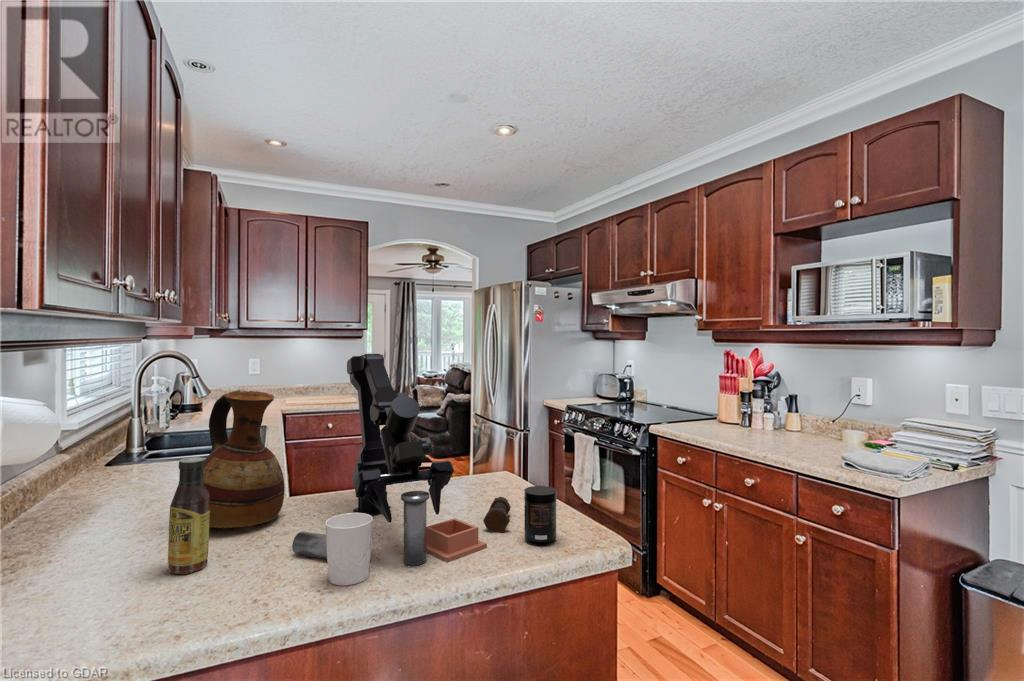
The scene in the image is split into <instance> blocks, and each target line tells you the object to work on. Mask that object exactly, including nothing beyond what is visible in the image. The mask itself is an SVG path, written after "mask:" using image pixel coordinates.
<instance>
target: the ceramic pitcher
mask: <svg viewBox="0 0 1024 681" xmlns="http://www.w3.org/2000/svg"><path fill="white" fill-rule="evenodd" d="M274 400H275V396H274V395H273V394H270V393H267V392H264V391H253V390H248V391H247V390H242V391H241V390H234V391H230V392H227V393H224V394H222V395H221V396H220V397H219V398H217V400H216V401H215V402H214V404H213V406H212V409H211V413H210V415H209V420H208V431H209V438H210V441H211V442H210V443H211V453H209V455H208V456H206V458H204V459H205V466H204V468H203V479H204V481H203V483H204V486H205V488H206V489H207V490H208V492H209V494H210V502H209V508H210V519H209V528H219V529H234V528H246V527H251V526H252V527H253V526H256V525H259V524H263V523H264V524H265V523H267V522H270V521H271V520H273V519H274V518H275V517H277V515H279V514H280V512H281V510H282V508H283V504H284V498H285V479H284V473H283V469H282V467H281V464H280V462H279V459H278V458H277V456H276V455H275V454H274V453H273V452H272V451H271V450H270V449H269V448H267V447H266V446H265V445H264V444H263V442H262V437H261V428H262V424H263V419H264V418H263V417H264V414H265V411H266V409H267V408H268V406H269V405H271V403H272V402H274ZM231 409H232V416H233V419H232V420H233V423H232V429H231V431H230V435H229V436H228V433H227V424H228V423H227V421H228V416H229V413H230V410H231Z"/></svg>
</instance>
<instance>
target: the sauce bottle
mask: <svg viewBox="0 0 1024 681" xmlns="http://www.w3.org/2000/svg"><path fill="white" fill-rule="evenodd" d="M205 459H206V458H204V457H199V456H195V457H185V458H181V459H180V460H178V470H179V476H178V477H179V478H178V484H177V487H176V490H175V492H174V495H173V497H172V499H171V502H170V506H169V515H168V516H169V521H168V549H167V563H168V564H167V565H168V567H167V568H168V571H169V572H170V574H174V575H175V574H176V575H186V574H187V575H188V574H191V573H194V572H197V571H199V570H202V569H203V568H204V567H206V565H207V564H208V557H209V543H210V542H209V541H210V540H209V539H210V527H209V519H210V508H209V502H210V494H209V492H208V490H207V489H206V488H205V486H204V483H203V481H204V479H203V468H204V466H205Z"/></svg>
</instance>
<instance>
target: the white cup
mask: <svg viewBox="0 0 1024 681" xmlns="http://www.w3.org/2000/svg"><path fill="white" fill-rule="evenodd" d="M373 519H374V518H373V516H371V515H369V514H365V513H357V512H346V513H341V514H337V515H336V514H335V515H334V516H331V517H329V518H328V519H326V521H325V535H326V549H327V559H326V561H327V568H328V569H327V570H328V572H327V575H328V581H329V582H330V583H331V584H333V585H335V586H352V585H357V584H359V583H361V582H363V581H365V580H366V579H368V577H369V574H370V562H371V561H370V560H371V555H372V554H371V553H372V538H373V536H372V535H373V521H374V520H373Z"/></svg>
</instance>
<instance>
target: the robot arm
mask: <svg viewBox="0 0 1024 681" xmlns="http://www.w3.org/2000/svg"><path fill="white" fill-rule="evenodd" d="M346 373H347V375H349V381H350V383H351V385H352V386H353V388H354V389H355V390H356V391H357V399H358V410H359V411H358V412H359V422H360V432H361V443H362V444H361V445H362V448H361V450H360V452H359V453H358V455H357V458H356V463H355V467H354V470H353V473H352V479H351V480H352V486H353V487H354V492H355V497H356V498H358V499H357V503H358V504H357V507H356V508H354V509H353V508H352V509H353V510H352V513H365V514H369V515H371V516H372V517H373V516H376V515H379V514H381V515H382V516H383V517H384V518H385V520H386V521H387V523H389V524H390V523H392V520H393V519H392V518H393V517H392V512H391V505H389V502H388V491H387V486H392V485H397V484H406V483H414V482H421V481H422V482H423V481H427V484H428V486H429V489H428V493H429V498H430V500H431V504H432V507H433V511H434V513H435V515H437V516H438V515H439V513H440V511H441V510H440V508H441V494H442V490H443V489H444V487H445V486H447V485H449V482H450V480H451V478H452V476H453V474H454V473H455V469H454V465H453V463H452V462H451V461H449V460H437V461H432V462H431V465H430V467H429V468H428V469H423V470H419V468H420V467H422V465H423V463H422V459H424V458H425V456H429V455H431V454H432V453H433V444H432V440H431V438H430V437H429V436H428V437H421V438H420V439H419V440H414V441H413V440H411V436H410V433H411V432H413V429H414V427H415V425H416V422H417V420H418V419H417V418H418V417H419V414H420V410H421V405H420V403H419V402H418V401H417V400H416V399H414V398H413V397H410V396H408V394H407V392H399V391H397V390H395V389H394V388H393V385H392V382H391V380H390V377H389V374H388V372H387V369H386V366H385V357H384V355H383V354H381V353H365V354H361V355H352V356H351V358H349V359H348V360H347V362H346ZM381 426H383V427H382V428H381Z"/></svg>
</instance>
